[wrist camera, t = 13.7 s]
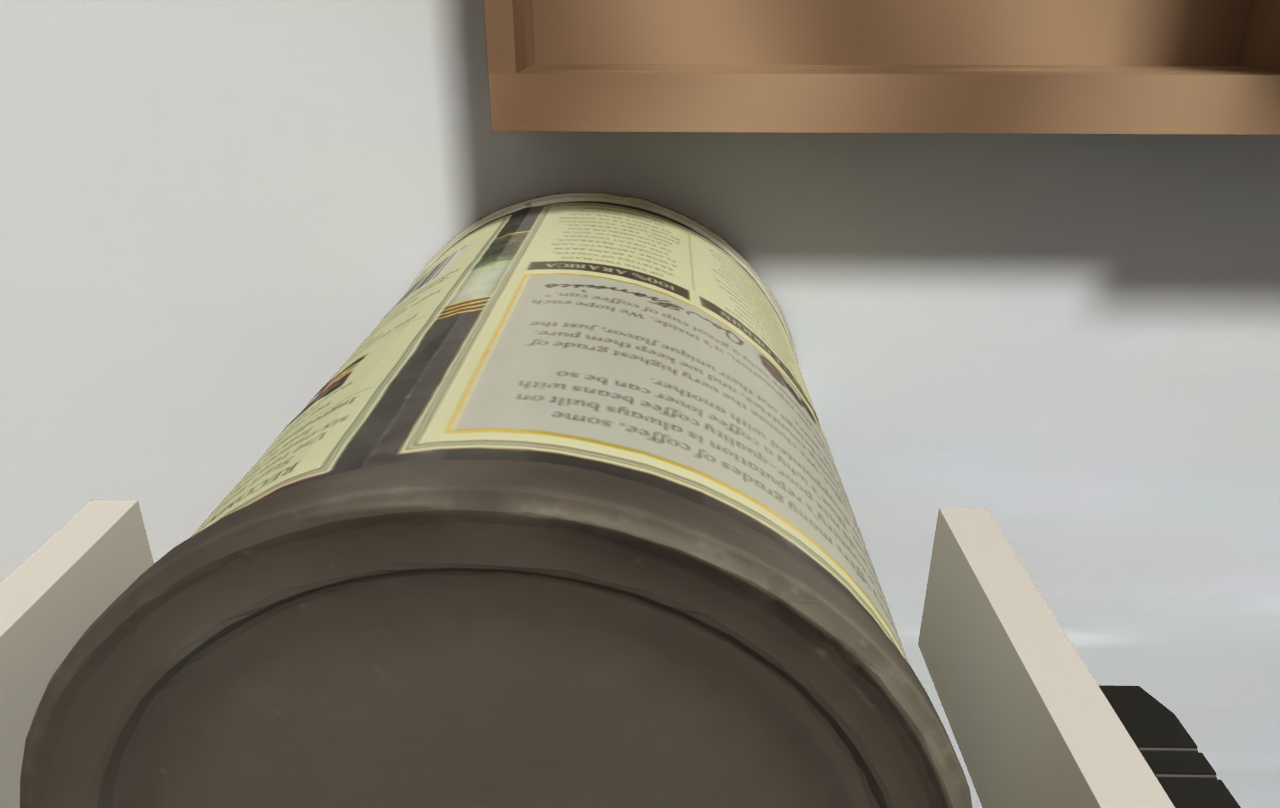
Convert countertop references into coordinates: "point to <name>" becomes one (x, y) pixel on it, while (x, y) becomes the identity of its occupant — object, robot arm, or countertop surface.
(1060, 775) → the robot arm
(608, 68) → the wooden tray
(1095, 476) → the countertop surface
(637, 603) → the coffee can
